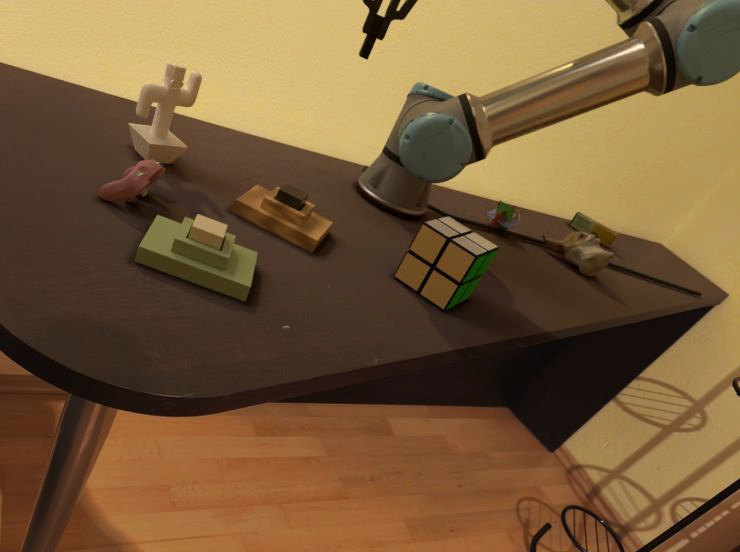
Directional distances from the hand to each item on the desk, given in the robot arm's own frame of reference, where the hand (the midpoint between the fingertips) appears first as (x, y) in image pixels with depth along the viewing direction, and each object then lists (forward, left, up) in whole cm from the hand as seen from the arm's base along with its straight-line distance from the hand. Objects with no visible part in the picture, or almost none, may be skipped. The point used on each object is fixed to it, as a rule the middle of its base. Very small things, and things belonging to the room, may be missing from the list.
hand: (363, 56), depth 107 cm
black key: (+4, +21, -21) cm, 30 cm away
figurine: (+27, +14, -25) cm, 39 cm away
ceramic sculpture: (-64, -19, -25) cm, 71 cm away
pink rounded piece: (+26, +32, -25) cm, 48 cm away
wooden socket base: (+4, +21, -24) cm, 32 cm away
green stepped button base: (+14, +44, -24) cm, 52 cm away
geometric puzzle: (-45, -21, -25) cm, 55 cm away
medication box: (-81, -50, -25) cm, 98 cm away
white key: (+14, +44, -21) cm, 51 cm away
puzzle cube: (-22, +24, -25) cm, 41 cm away
